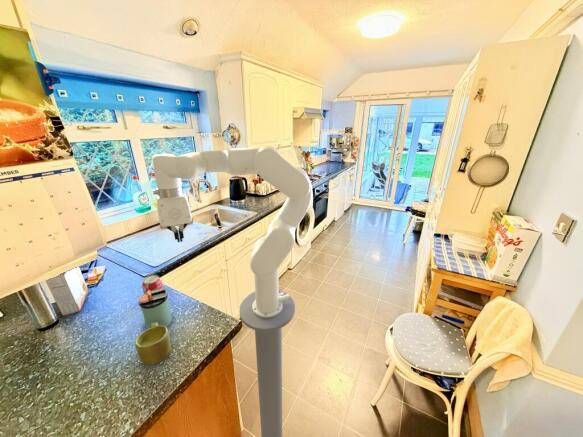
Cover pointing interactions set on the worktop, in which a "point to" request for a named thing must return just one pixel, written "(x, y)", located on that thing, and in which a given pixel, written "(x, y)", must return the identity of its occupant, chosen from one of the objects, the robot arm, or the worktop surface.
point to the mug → (153, 344)
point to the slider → (145, 297)
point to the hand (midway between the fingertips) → (179, 240)
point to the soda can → (152, 283)
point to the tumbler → (156, 309)
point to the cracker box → (68, 291)
